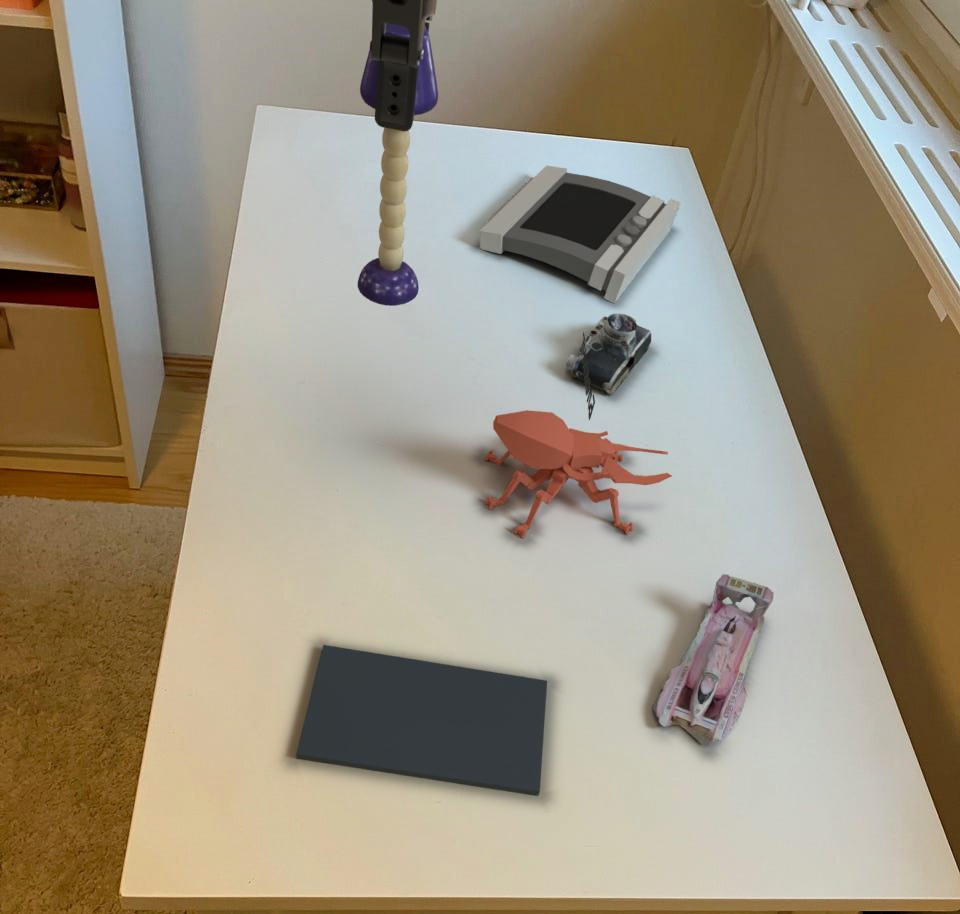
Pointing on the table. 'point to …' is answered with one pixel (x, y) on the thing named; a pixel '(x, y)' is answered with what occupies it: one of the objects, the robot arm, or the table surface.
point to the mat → (426, 720)
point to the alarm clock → (582, 227)
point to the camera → (611, 351)
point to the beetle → (563, 457)
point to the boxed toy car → (715, 664)
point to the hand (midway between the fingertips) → (399, 104)
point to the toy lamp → (395, 186)
